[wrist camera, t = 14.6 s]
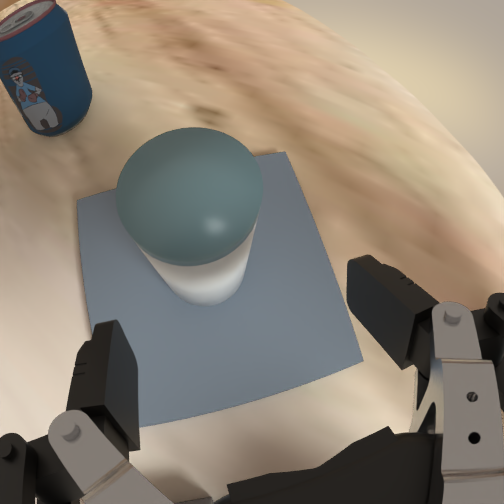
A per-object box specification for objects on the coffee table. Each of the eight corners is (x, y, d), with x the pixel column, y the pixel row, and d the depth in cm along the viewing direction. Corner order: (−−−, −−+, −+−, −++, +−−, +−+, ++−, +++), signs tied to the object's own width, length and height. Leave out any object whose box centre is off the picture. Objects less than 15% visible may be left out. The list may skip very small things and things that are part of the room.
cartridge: (231, 220, 21) (238, 115, 11) (255, 292, 19) (284, 232, 10) (157, 240, 20) (109, 148, 11) (176, 316, 19) (128, 276, 9)
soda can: (84, 81, 26) (55, -13, 15) (105, 114, 24) (70, 4, 13) (28, 115, 24) (-17, 29, 13) (40, 155, 22) (-19, 57, 11)
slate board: (283, 157, 24) (285, 151, 23) (358, 361, 19) (363, 360, 19) (80, 205, 21) (76, 200, 20) (121, 428, 16) (117, 430, 16)
